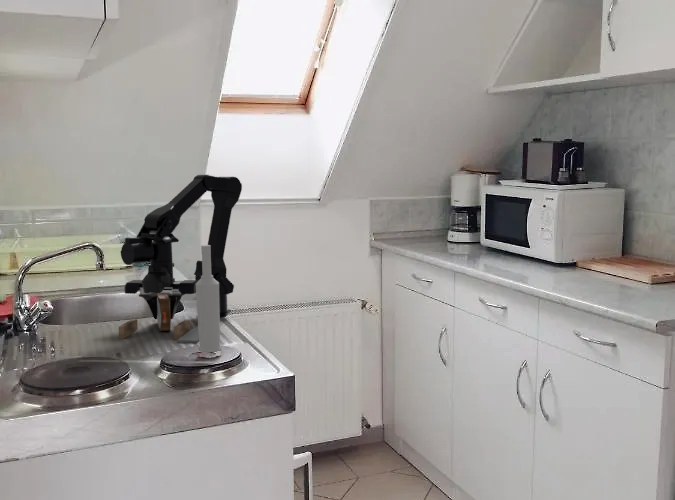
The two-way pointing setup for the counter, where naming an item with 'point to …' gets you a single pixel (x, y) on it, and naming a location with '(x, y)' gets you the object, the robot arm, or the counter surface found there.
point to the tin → (163, 313)
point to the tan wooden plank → (133, 326)
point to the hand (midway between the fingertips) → (163, 319)
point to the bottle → (208, 306)
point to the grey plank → (190, 336)
